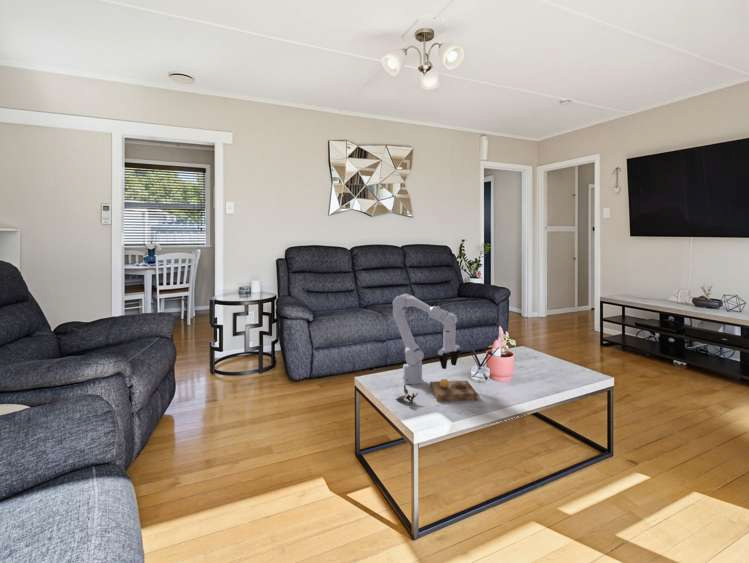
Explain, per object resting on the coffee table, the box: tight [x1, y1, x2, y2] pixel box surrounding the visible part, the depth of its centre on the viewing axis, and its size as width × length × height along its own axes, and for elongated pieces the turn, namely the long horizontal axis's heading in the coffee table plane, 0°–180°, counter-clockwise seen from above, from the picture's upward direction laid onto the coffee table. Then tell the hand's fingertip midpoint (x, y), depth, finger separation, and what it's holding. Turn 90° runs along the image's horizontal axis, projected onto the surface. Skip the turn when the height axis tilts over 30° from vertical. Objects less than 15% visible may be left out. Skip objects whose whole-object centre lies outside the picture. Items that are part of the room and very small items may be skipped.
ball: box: [439, 378, 449, 388], centre depth 184 cm, size 4×4×4 cm
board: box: [429, 380, 478, 402], centre depth 185 cm, size 18×16×3 cm
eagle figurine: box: [395, 383, 419, 405], centre depth 177 cm, size 8×7×9 cm
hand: (448, 366), depth 192 cm, fingers open, 7 cm apart
